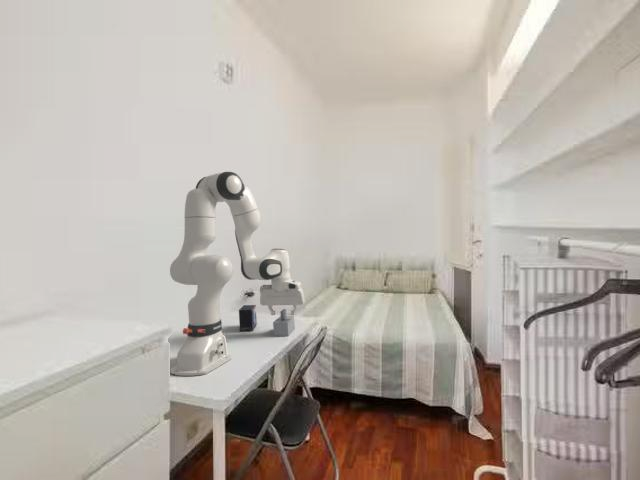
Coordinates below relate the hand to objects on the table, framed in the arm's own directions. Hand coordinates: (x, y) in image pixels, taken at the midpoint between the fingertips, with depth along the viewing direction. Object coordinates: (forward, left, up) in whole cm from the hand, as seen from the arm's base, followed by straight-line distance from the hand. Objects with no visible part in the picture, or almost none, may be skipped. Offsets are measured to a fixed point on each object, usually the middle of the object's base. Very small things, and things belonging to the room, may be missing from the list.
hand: (283, 314), depth 165 cm
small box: (+7, +20, -9) cm, 23 cm away
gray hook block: (+1, 0, -8) cm, 8 cm away
